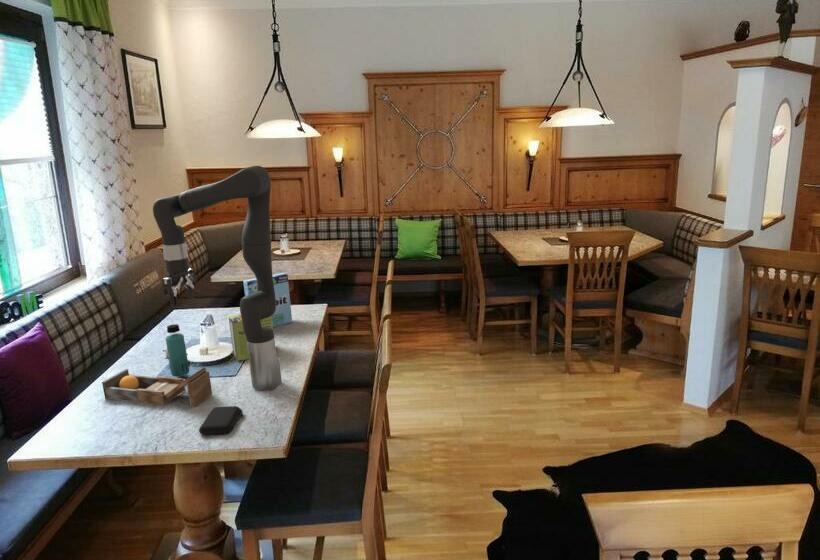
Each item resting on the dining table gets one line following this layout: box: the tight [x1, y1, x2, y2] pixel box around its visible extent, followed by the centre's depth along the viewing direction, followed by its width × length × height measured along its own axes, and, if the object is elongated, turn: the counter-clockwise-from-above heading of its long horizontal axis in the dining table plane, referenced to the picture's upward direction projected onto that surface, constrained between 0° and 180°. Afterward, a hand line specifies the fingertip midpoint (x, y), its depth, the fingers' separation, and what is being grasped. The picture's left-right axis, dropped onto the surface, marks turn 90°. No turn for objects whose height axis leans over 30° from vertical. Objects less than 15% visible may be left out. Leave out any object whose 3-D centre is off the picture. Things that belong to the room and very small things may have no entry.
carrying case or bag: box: [198, 405, 244, 436], centre depth 177 cm, size 11×3×15 cm
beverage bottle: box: [165, 323, 190, 378], centre depth 210 cm, size 6×7×20 cm
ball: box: [119, 374, 139, 389], centre depth 201 cm, size 6×6×6 cm
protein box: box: [228, 314, 277, 362], centre depth 231 cm, size 10×15×16 cm
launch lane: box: [101, 367, 213, 408], centre depth 197 cm, size 36×11×10 cm, turn 74°
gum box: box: [243, 272, 293, 328], centre depth 261 cm, size 20×5×23 cm, turn 127°
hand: (183, 302), depth 199 cm, fingers open, 8 cm apart
